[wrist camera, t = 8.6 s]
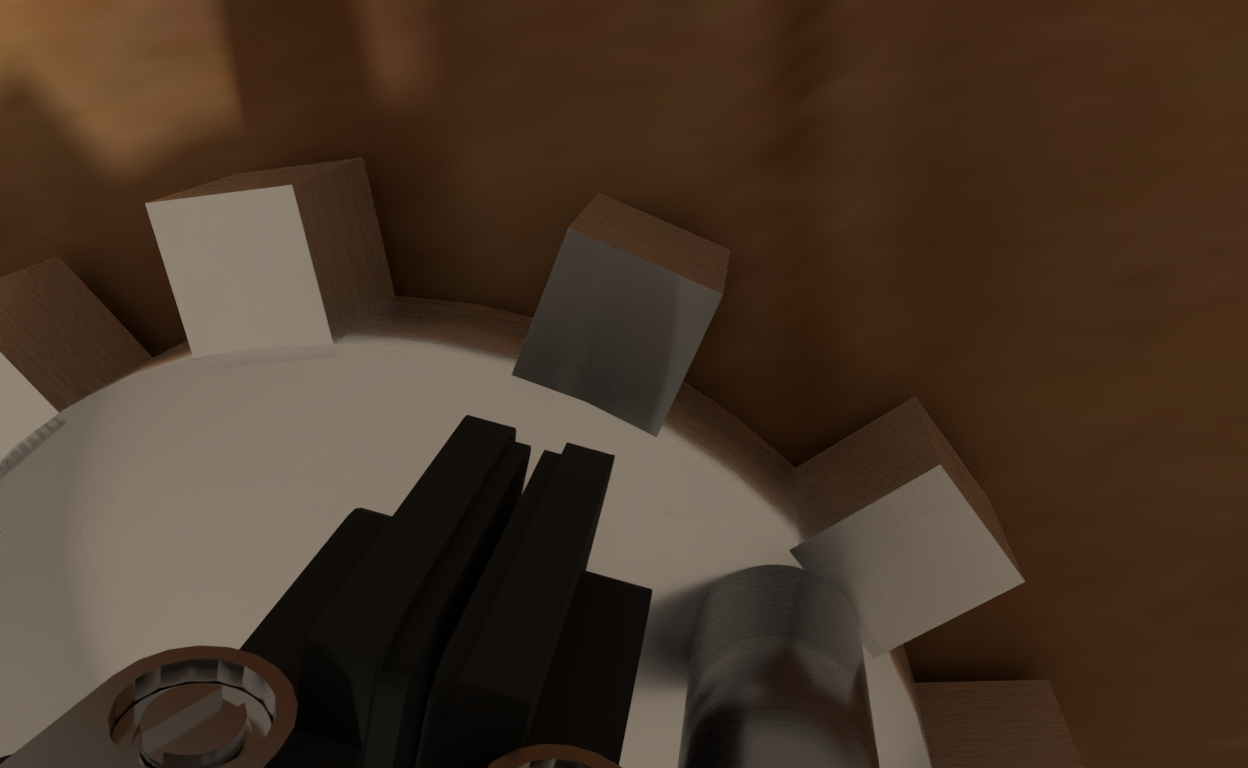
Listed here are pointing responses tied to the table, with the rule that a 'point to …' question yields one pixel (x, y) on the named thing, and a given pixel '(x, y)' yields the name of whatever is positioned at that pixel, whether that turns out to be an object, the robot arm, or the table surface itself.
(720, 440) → the index wheel
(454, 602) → the robot arm
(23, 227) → the table surface
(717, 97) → the table surface
